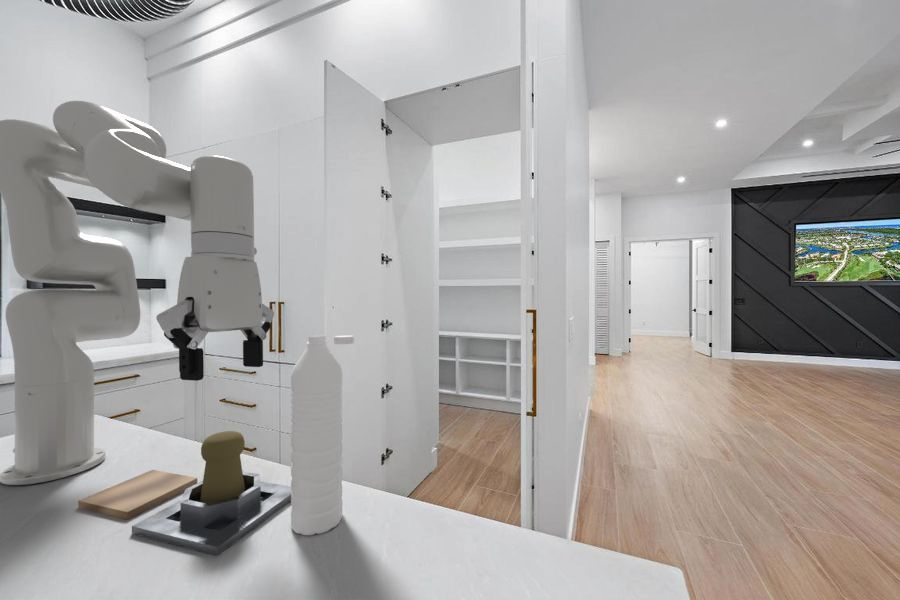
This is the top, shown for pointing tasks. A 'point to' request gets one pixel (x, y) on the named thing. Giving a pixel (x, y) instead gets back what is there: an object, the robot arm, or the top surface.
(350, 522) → the top surface
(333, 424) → the water bottle
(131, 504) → the coaster board
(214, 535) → the grey octagonal holder
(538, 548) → the top surface
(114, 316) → the robot arm
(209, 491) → the cork
